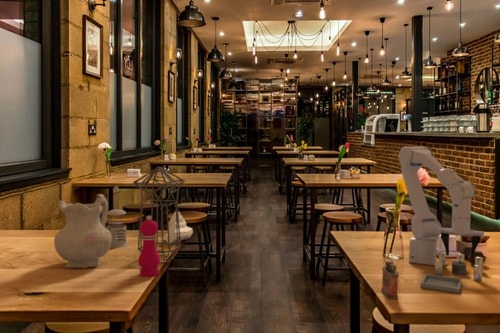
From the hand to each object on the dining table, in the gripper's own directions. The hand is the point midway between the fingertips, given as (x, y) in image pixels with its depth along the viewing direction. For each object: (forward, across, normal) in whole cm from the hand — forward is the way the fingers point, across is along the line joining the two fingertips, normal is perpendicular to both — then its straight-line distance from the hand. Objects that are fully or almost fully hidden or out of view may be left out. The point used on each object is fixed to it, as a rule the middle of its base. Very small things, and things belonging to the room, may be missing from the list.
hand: (459, 256), depth 159 cm
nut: (+6, 0, 0) cm, 6 cm away
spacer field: (+6, 0, 0) cm, 6 cm away
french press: (+6, -131, -29) cm, 134 cm away
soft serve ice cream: (+6, -113, -9) cm, 114 cm away
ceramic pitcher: (+6, -121, -54) cm, 133 cm away
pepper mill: (+6, -93, -53) cm, 107 cm away
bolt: (+6, +3, +21) cm, 22 cm away
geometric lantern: (+6, -100, -37) cm, 107 cm away
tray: (+6, -4, -17) cm, 18 cm away
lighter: (+6, -17, -34) cm, 38 cm away
